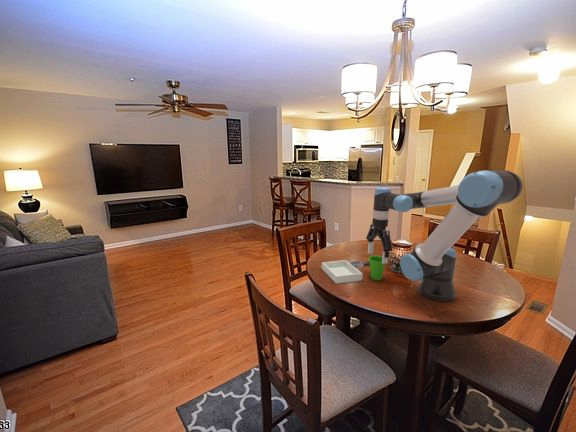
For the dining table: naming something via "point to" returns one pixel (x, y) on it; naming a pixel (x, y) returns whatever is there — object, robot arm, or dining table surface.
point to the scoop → (359, 264)
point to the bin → (341, 272)
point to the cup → (376, 267)
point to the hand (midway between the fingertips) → (377, 258)
